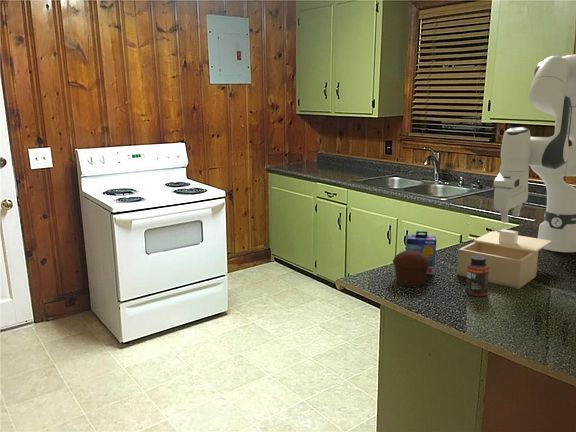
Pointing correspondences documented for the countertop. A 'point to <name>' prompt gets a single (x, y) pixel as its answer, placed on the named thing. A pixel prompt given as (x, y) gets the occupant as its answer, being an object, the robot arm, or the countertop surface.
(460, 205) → the countertop surface
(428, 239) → the ink cartridge box
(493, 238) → the carton lid
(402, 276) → the muffin
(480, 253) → the carton
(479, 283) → the supplement bottle
